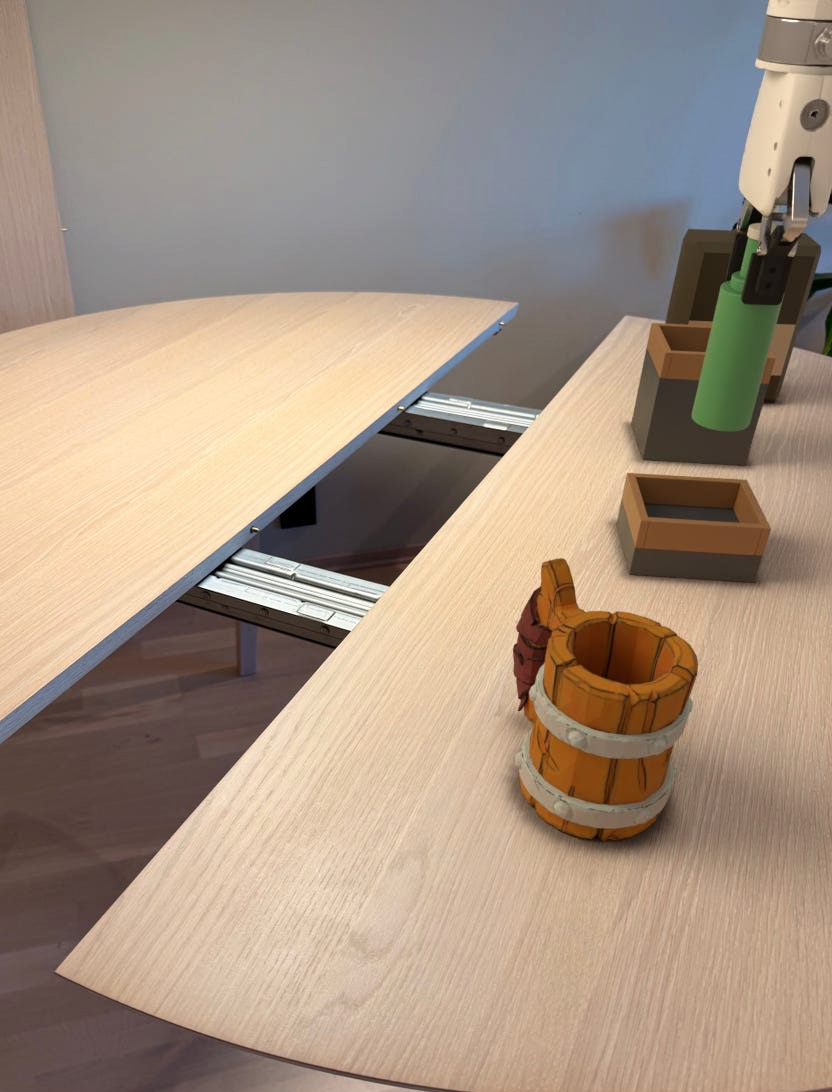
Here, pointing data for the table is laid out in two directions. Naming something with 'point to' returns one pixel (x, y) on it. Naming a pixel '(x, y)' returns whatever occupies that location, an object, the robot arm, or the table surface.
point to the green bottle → (735, 352)
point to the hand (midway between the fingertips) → (752, 290)
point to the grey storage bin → (684, 401)
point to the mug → (598, 711)
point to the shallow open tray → (691, 527)
